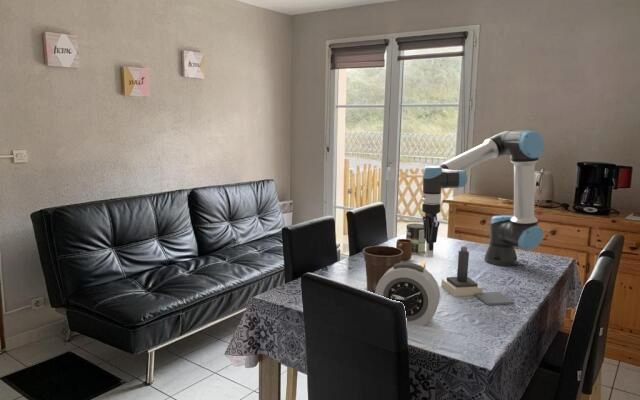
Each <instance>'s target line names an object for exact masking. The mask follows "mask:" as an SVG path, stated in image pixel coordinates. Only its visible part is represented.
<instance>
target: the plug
mask: <svg viewBox="0 0 640 400" xmlns="http://www.w3.org/2000/svg"><path fill="white" fill-rule="evenodd" d="M469 256H470V252H469V251H468V246H463V245H462V246H461V247H460V250H459V251H458V258H457V269H456V270H457V273H456V276H447V277H446V279H447V281H449V282H450V283H451V284H452V285H454V286H455V287H456V288H457V287H477V286H478V285H479V284H478V283H477V282H476V281H475V280H473V279H472V278H470V277H469V276H468V275H469V274H468V271H469V258H470V257H469Z"/></svg>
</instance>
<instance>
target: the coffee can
mask: <svg viewBox="0 0 640 400" xmlns="http://www.w3.org/2000/svg"><path fill="white" fill-rule="evenodd" d="M405 234H406V236H405V239H408V240H411V241H412V252H411V255H422V254H426V239H424V225H423V223H407V224H406V233H405Z"/></svg>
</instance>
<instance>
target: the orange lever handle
mask: <svg viewBox="0 0 640 400" xmlns="http://www.w3.org/2000/svg"><path fill="white" fill-rule="evenodd" d="M419 265H420V266H422V267H423V268H424V269H426V261H420V262H419Z"/></svg>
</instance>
